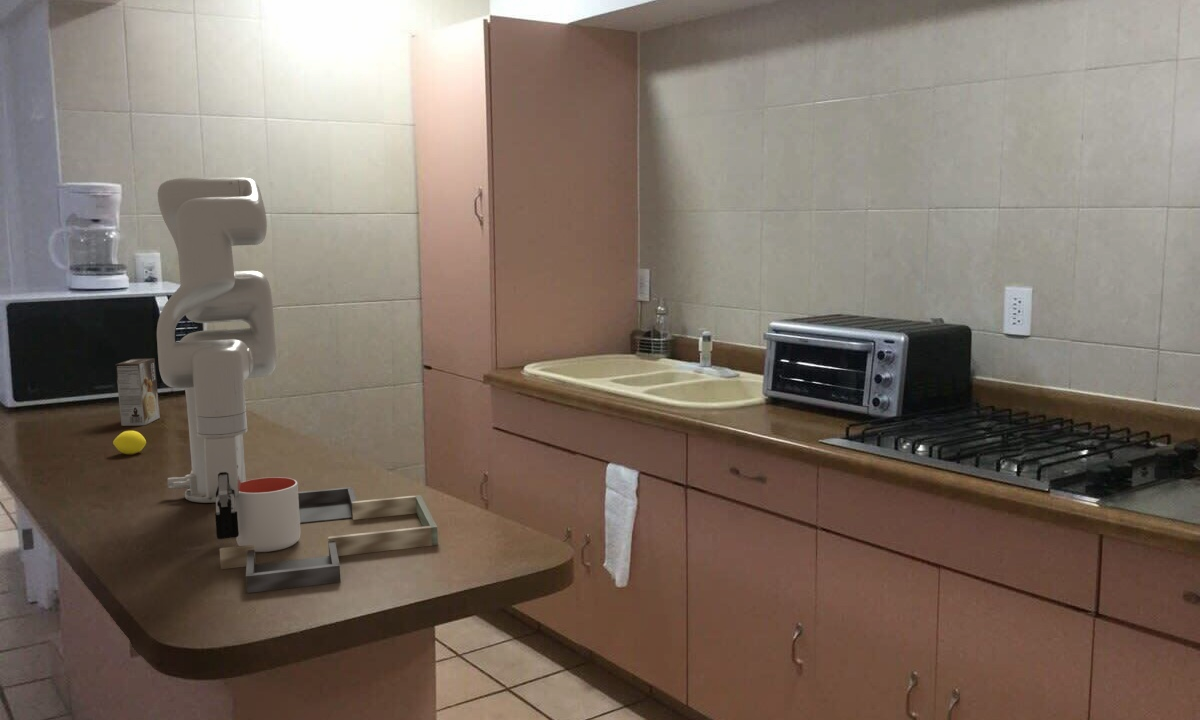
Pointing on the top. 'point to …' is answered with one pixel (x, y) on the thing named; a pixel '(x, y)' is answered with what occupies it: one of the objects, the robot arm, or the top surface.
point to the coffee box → (137, 392)
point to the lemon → (129, 442)
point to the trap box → (334, 539)
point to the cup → (268, 513)
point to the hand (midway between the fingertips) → (229, 528)
